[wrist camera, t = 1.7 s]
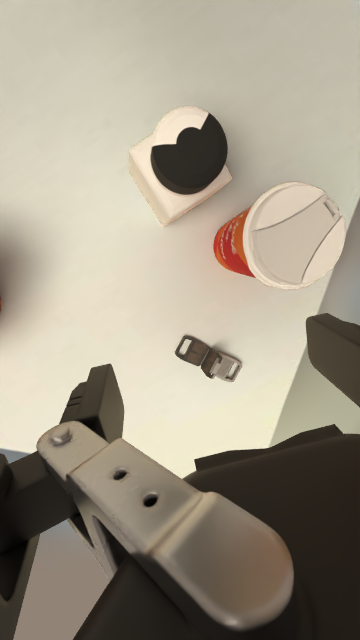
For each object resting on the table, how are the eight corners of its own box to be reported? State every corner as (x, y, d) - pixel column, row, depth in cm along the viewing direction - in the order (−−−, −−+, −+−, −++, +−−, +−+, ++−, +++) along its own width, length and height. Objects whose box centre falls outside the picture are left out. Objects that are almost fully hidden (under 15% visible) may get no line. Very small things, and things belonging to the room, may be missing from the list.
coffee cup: (240, 195, 38) (309, 152, 23) (282, 247, 40) (372, 238, 25) (188, 245, 38) (225, 234, 23) (233, 295, 40) (293, 314, 25)
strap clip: (242, 361, 41) (254, 372, 37) (230, 382, 42) (242, 395, 38) (184, 333, 40) (190, 341, 35) (172, 354, 40) (178, 365, 36)
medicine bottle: (214, 194, 37) (253, 162, 26) (163, 227, 37) (178, 211, 25) (181, 135, 36) (206, 73, 24) (127, 170, 35) (126, 125, 24)
